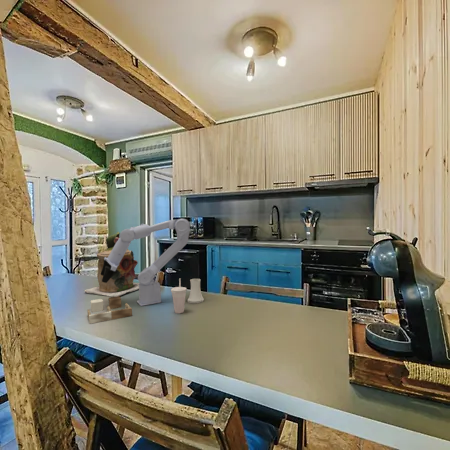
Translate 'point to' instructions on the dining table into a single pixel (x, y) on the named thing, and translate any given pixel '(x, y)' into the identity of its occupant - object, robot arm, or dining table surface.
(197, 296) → the vase
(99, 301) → the cream block
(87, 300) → the dining table surface
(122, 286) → the cookie jar
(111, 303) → the walnut block
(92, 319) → the lane rack
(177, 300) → the smoothie
